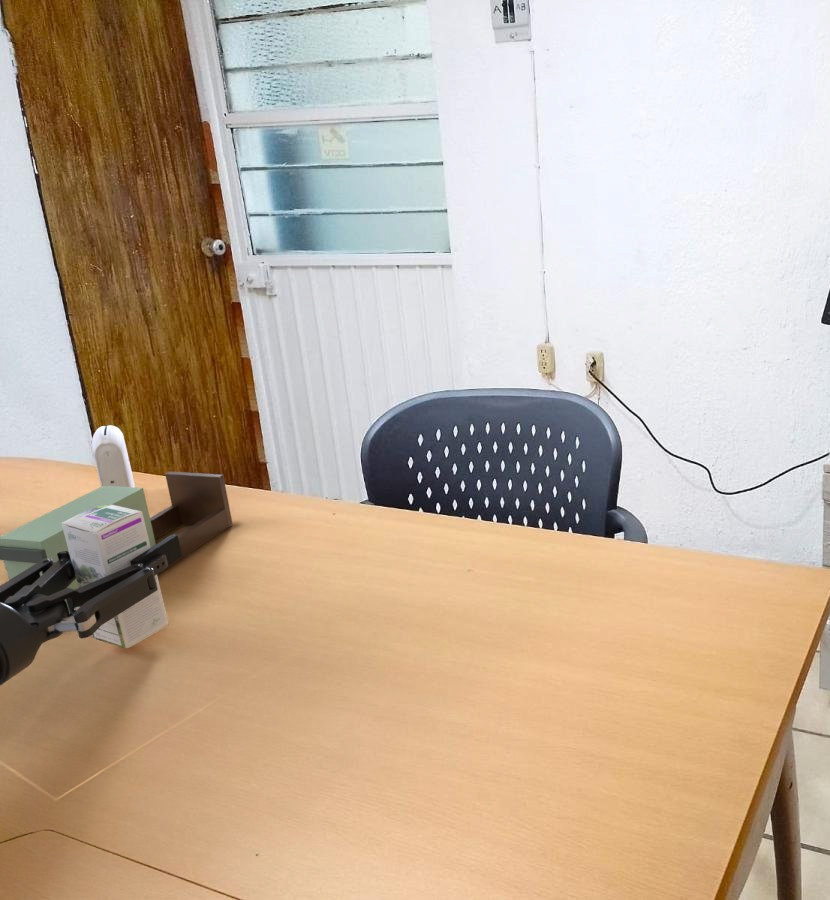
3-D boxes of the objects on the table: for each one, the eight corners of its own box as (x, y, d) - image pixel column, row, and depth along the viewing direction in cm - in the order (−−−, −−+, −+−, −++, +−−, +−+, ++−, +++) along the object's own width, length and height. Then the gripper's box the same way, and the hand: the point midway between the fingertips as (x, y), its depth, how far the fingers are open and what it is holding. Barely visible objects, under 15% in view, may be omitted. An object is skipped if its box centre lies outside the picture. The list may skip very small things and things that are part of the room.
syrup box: (171, 624, 95) (145, 508, 90) (124, 651, 90) (95, 530, 85) (136, 614, 97) (109, 500, 92) (89, 640, 92) (58, 521, 87)
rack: (93, 573, 109) (78, 518, 107) (180, 520, 125) (169, 471, 122) (152, 579, 107) (139, 523, 105) (232, 524, 123) (223, 474, 120)
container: (17, 624, 97) (-8, 539, 93) (121, 560, 112) (103, 485, 108) (62, 629, 96) (38, 543, 92) (161, 563, 111) (143, 487, 107)
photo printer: (137, 510, 129) (120, 435, 125) (105, 516, 127) (87, 439, 123) (137, 488, 138) (121, 417, 134) (108, 493, 136) (90, 422, 132)
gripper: (-107, 680, 77) (86, 565, 98) (69, 704, 73) (230, 579, 95) (-133, 610, 75) (71, 507, 96) (48, 630, 71) (218, 519, 92)
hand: (149, 543), depth 95 cm, fingers closed on syrup box, 6 cm apart
